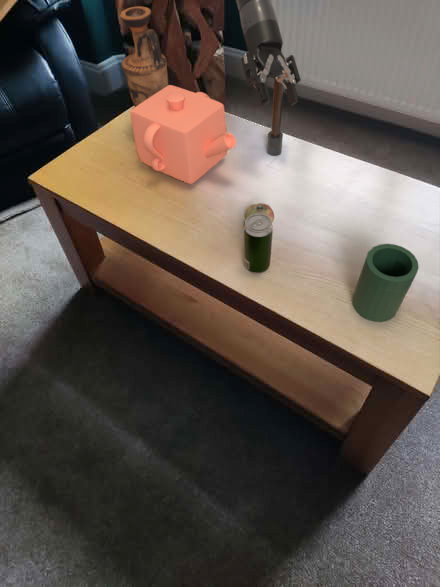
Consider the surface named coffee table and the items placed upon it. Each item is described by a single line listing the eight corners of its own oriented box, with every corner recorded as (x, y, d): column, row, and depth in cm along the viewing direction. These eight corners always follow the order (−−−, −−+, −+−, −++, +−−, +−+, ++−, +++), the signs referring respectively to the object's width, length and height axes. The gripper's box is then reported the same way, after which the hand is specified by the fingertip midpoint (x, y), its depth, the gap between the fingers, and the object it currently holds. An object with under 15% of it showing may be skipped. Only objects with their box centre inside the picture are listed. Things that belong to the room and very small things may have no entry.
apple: (268, 244, 92) (269, 223, 88) (238, 228, 95) (238, 208, 91) (283, 228, 95) (285, 207, 90) (254, 213, 98) (254, 193, 93)
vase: (129, 137, 119) (100, 16, 95) (154, 119, 124) (133, -1, 100) (159, 150, 114) (137, 26, 91) (184, 130, 120) (169, 8, 96)
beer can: (254, 279, 87) (256, 237, 77) (238, 263, 89) (238, 220, 80) (275, 266, 88) (279, 224, 79) (258, 251, 91) (260, 208, 81)
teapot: (260, 161, 110) (263, 93, 95) (206, 211, 99) (200, 143, 85) (185, 131, 119) (177, 65, 105) (128, 173, 109) (111, 107, 95)
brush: (276, 145, 114) (282, 68, 98) (284, 153, 111) (291, 75, 95) (264, 149, 113) (267, 72, 97) (271, 157, 110) (276, 79, 95)
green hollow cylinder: (378, 280, 85) (395, 237, 76) (407, 311, 80) (429, 269, 71) (343, 296, 83) (356, 254, 74) (370, 328, 78) (388, 288, 69)
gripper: (246, 13, 85) (268, 94, 86) (295, 21, 93) (314, 95, 94) (224, 36, 91) (245, 111, 92) (272, 42, 99) (290, 111, 100)
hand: (280, 103), depth 93 cm, fingers open, 8 cm apart
